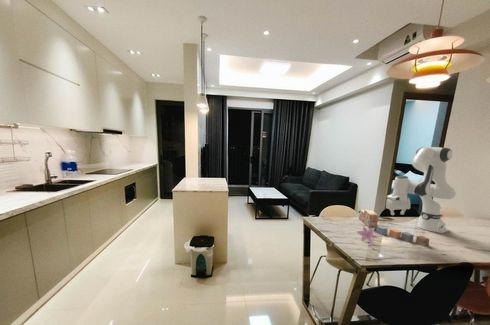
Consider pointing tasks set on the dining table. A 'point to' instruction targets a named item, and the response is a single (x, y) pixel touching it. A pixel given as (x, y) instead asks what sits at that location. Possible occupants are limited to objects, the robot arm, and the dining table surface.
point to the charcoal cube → (407, 236)
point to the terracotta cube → (395, 233)
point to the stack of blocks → (369, 218)
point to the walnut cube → (422, 240)
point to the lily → (367, 235)
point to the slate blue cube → (381, 230)
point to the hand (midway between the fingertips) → (397, 214)
